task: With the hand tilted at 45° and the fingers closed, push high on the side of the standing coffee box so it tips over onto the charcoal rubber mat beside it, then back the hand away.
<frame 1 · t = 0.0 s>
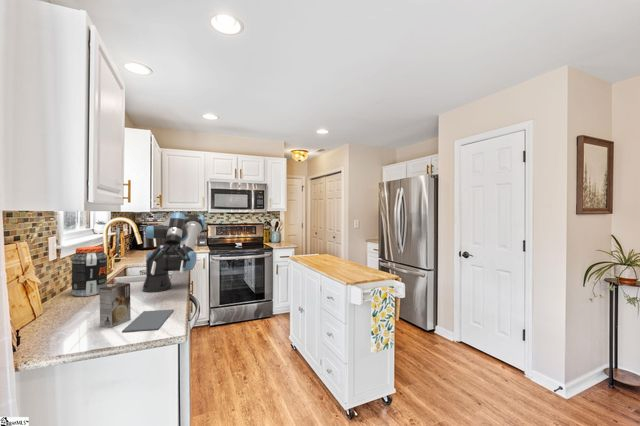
hand: (166, 273, 147), 15 cm above the countertop, tool tilted 35°, fingers open, 13 cm apart
supplement tub: (90, 293, 163), on the countertop
coffee box: (115, 323, 122), on the countertop
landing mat: (150, 320, 125), on the countertop
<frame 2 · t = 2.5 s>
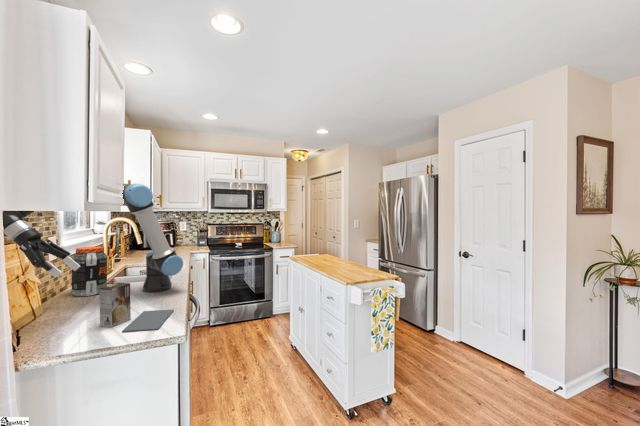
hand: (68, 271, 118), 22 cm above the countertop, tool tilted 45°, fingers open, 11 cm apart
nothing on the countertop moved.
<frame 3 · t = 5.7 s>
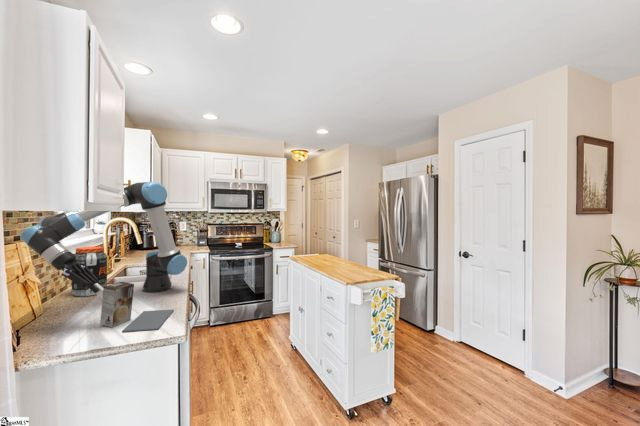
hand: (105, 296, 120), 12 cm above the countertop, tool tilted 45°, fingers closed
coffee box: (115, 322, 122), on the countertop, touching gripper
everything else where it was.
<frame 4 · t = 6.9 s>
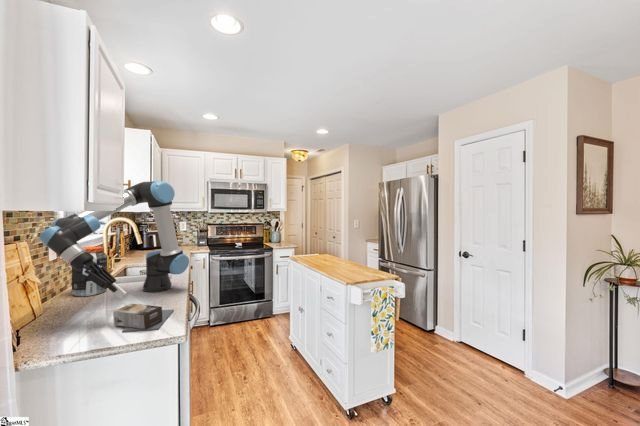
hand: (123, 295, 122), 12 cm above the countertop, tool tilted 45°, fingers closed
coffee box: (122, 313, 122), point 4 cm above the countertop, touching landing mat
everything else where it was.
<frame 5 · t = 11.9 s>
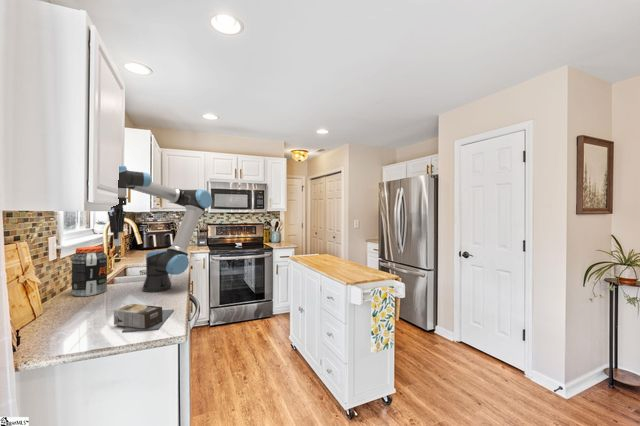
hand: (117, 245, 139), 30 cm above the countertop, tool pointing down, fingers closed
nothing on the countertop moved.
at the end: coffee box tilted 90°; coffee box touching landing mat; coffee box inside the target area (3.6 cm from its centre), point 3.8 cm above the countertop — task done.
